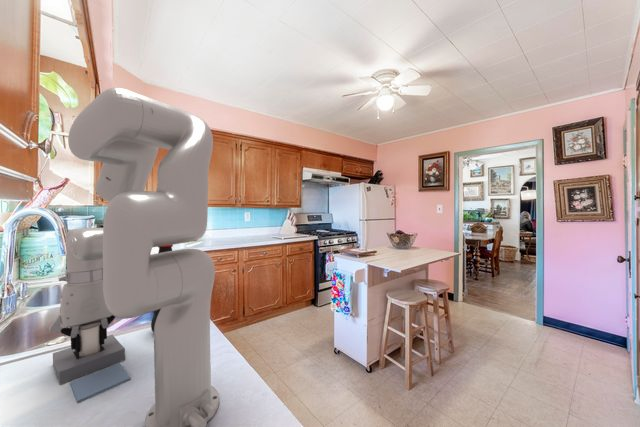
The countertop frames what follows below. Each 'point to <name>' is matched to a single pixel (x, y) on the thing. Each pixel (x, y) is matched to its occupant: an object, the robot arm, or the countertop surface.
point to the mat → (99, 382)
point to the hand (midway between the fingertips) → (89, 345)
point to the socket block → (87, 360)
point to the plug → (89, 338)
